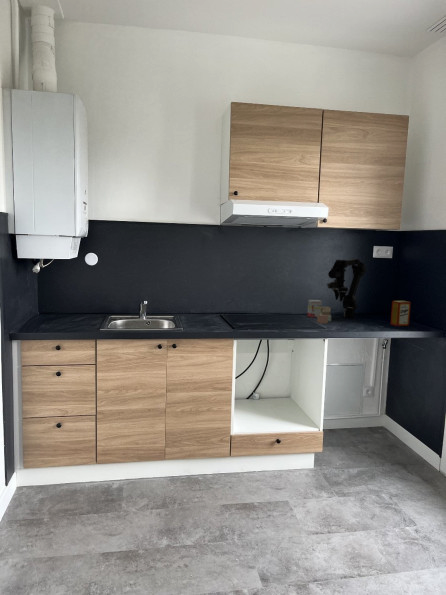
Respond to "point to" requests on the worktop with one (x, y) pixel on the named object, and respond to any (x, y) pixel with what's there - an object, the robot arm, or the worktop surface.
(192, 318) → the worktop surface
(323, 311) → the maple cube
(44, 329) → the worktop surface
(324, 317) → the terracotta cube
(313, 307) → the ink box
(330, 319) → the sage block
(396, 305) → the baking soda box
